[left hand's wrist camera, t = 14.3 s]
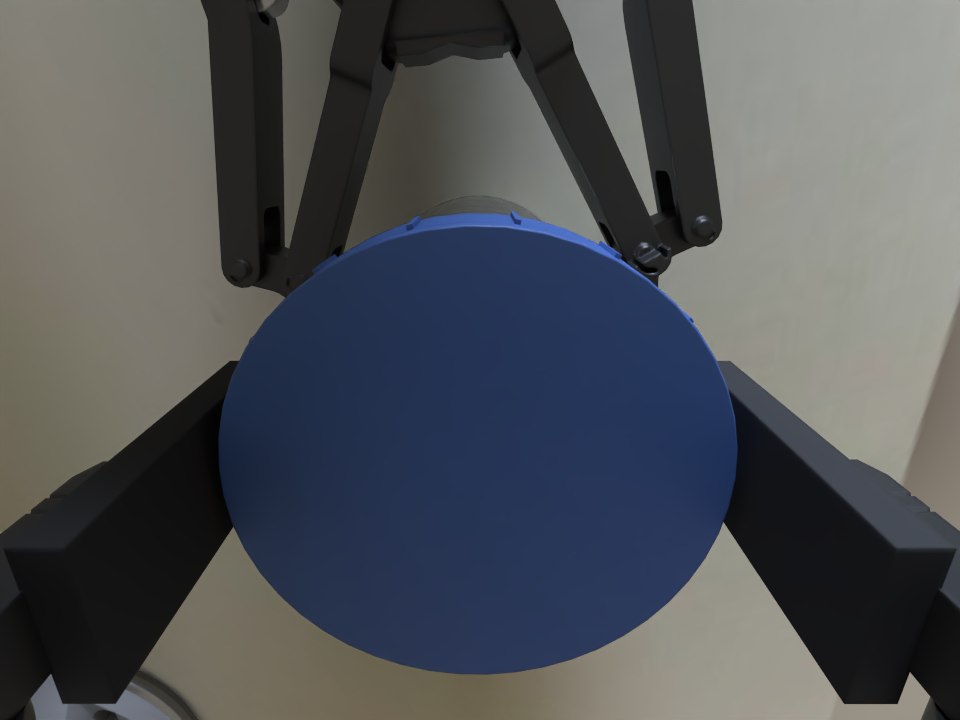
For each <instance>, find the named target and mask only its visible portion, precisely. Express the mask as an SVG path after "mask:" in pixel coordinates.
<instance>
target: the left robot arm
mask: <svg viewBox="0 0 960 720" xmlns="http://www.w3.org/2000/svg"><path fill="white" fill-rule="evenodd" d="M238 363H239V361H229V362H228V363H227V364H226V365H225V366H223V367H222V368H221V369H220V370H219V371H217V372H216V373H215V374H214V375H212V376H211V377H210V378H209V379H208V380H206V381H205V382H204V383H203V384H202V385H200V386H199V387H198V388H197V389H196V390H194V391H193V392H192V393H191V394H189V395H188V396H187V397H186V398H185V399H183V400H182V401H181V402H180V403H179V404H177V405H176V406H175V407H174V408H172V409H171V410H170V411H169V412H168V413H166V414H165V415H164V416H163V417H162V418H160V419H159V420H158V421H157V422H155V423H154V424H153V425H152V426H151V427H149V428H148V429H147V430H146V431H145V432H143V433H142V434H141V435H140V436H139V437H137V438H136V439H135V440H134V441H132V442H131V443H130V444H129V445H128V446H126V447H125V448H124V449H123V450H122V451H120V452H119V453H118V454H117V455H115V456H114V457H113V458H112V459H111V460H109V461H108V462H101V463H99V464H97V465H95V466H93V467H91V468H89V469H87V470H86V471H84V472H82V473H80V474H78V475H76V476H74V477H72V478H71V479H70V480H68V481H67V482H66V483H65V484H63V485H62V486H61V487H59V488H58V489H57V490H56V491H54V492H53V493H52V494H51V495H50V498H46V499H44V500H43V501H42V502H41V503H39V504H38V505H37V506H35V507H34V508H33V509H32V510H31V513H30V514H25V515H24V516H23V517H22V518H20V519H19V520H18V521H16V522H15V523H14V524H13V525H11V526H10V527H9V528H8V529H6V530H5V531H4V532H3V533H1V534H0V720H198V719H197V718H196V716H195V715H194V714H193V712H192V711H191V710H190V708H189V707H188V706H187V705H186V704H185V703H184V702H183V701H182V700H181V699H180V698H179V697H178V696H177V695H176V694H175V693H173V692H172V691H171V690H170V689H168V688H167V687H166V686H164V685H163V684H161V683H160V682H158V681H157V680H155V679H153V678H152V677H150V676H148V675H146V674H144V673H142V672H140V671H138V670H139V668H140V667H141V665H142V664H143V662H144V661H145V659H146V658H147V656H148V655H149V653H150V652H151V650H152V649H153V647H154V645H155V644H156V642H157V641H158V639H159V638H160V636H161V635H162V633H163V632H164V630H165V629H166V627H167V626H168V624H169V623H170V621H171V620H172V618H173V617H174V615H175V614H176V612H177V611H178V609H179V608H180V606H181V605H182V603H183V602H184V600H185V599H186V597H187V596H188V594H189V593H190V591H191V590H192V588H193V587H194V585H195V584H196V582H197V581H198V579H199V578H200V576H201V575H202V573H203V572H204V570H205V569H206V567H207V566H208V564H209V563H210V561H211V560H212V558H213V557H214V555H215V554H216V552H217V551H218V549H219V548H220V546H221V545H222V543H223V541H224V540H225V538H226V537H227V535H228V534H229V532H230V531H231V529H232V528H233V524H232V521H231V518H230V515H229V512H228V509H227V506H226V503H225V499H224V496H223V490H222V484H221V478H220V472H219V453H218V436H219V429H220V421H221V414H222V407H223V404H224V400H225V397H226V394H227V391H228V387H229V384H230V381H231V378H232V375H233V373H234V371H235V369H236V367H237V365H238ZM717 363H718V366H719V368H720V371H721V373H722V375H723V378H724V380H725V383H726V385H727V387H728V391H729V395H730V399H731V404H732V408H733V412H734V416H735V425H736V437H737V463H736V477H735V482H734V487H733V491H732V496H731V500H730V505H729V508H728V511H727V513H726V516H725V519H724V521H723V522H724V523H725V525H726V526H727V528H728V529H729V531H730V532H731V534H732V535H733V537H734V538H735V540H736V541H737V543H738V544H739V546H740V548H741V549H742V551H743V552H744V554H745V555H746V557H747V558H748V560H749V561H750V563H751V564H752V566H753V567H754V569H755V570H756V572H757V573H758V575H759V576H760V578H761V579H762V581H763V582H764V584H765V585H766V587H767V588H768V590H769V591H770V593H771V594H772V596H773V597H774V599H775V600H776V602H777V603H778V605H779V606H780V608H781V609H782V611H783V612H784V614H785V615H786V617H787V618H788V620H789V621H790V623H791V624H792V626H793V627H794V629H795V630H796V632H797V633H798V635H799V636H800V638H801V639H802V641H803V642H804V644H805V645H806V647H807V648H808V650H809V652H810V653H811V655H812V656H813V658H814V659H815V661H816V662H817V664H818V665H819V667H820V668H821V670H822V671H823V673H824V674H825V676H826V677H827V679H828V680H829V682H830V683H831V685H832V686H833V688H834V689H835V691H836V692H837V694H838V695H839V697H840V698H841V700H842V701H843V703H844V704H898V701H899V699H900V696H901V694H902V691H903V688H904V686H905V683H906V680H907V678H908V675H909V673H910V672H911V674H912V675H913V676H914V677H915V678H916V680H917V681H918V682H919V683H920V684H921V686H922V687H923V688H924V689H925V690H926V692H927V693H928V694H929V695H930V696H931V697H930V699H929V702H928V704H927V706H926V709H925V711H924V714H923V716H922V719H921V720H960V531H958V530H957V529H956V528H955V527H953V526H952V525H951V524H950V523H948V522H947V521H946V520H945V519H943V518H942V517H941V516H939V515H938V514H937V513H936V512H930V508H929V507H928V506H927V505H925V504H924V503H923V502H922V501H920V500H919V499H918V498H916V497H915V496H911V495H910V492H909V491H908V490H906V489H905V488H904V487H903V486H901V485H900V484H899V483H897V482H896V481H895V480H894V479H892V478H891V477H890V476H889V475H887V474H885V473H883V472H881V471H879V470H877V469H875V468H873V467H871V466H869V465H867V464H865V463H863V462H861V461H859V460H849V459H848V458H847V457H846V456H845V455H843V454H842V453H841V452H840V451H838V450H837V449H836V448H835V447H834V446H832V445H831V444H830V443H829V442H828V441H826V440H825V439H824V438H823V437H821V436H820V435H819V434H818V433H817V432H815V431H814V430H813V429H812V428H811V427H809V426H808V425H807V424H806V423H805V422H803V421H802V420H801V419H800V418H798V417H797V416H796V415H795V414H794V413H792V412H791V411H790V410H789V409H788V408H786V407H785V406H784V405H783V404H781V403H780V402H779V401H778V400H777V399H775V398H774V397H773V396H772V395H771V394H769V393H768V392H767V391H766V390H765V389H763V388H762V387H761V386H760V385H758V384H757V383H756V382H755V381H754V380H752V379H751V378H750V377H749V376H748V375H746V374H745V373H744V372H743V371H741V370H740V369H739V368H738V367H737V366H735V365H734V364H733V363H732V362H731V361H717Z"/></svg>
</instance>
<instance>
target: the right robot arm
mask: <svg viewBox="0 0 960 720" xmlns="http://www.w3.org/2000/svg"><path fill="white" fill-rule="evenodd" d="M334 1H335V3H336V4H337V5H338V6H339V7H340V9H341V14H340V18H339V22H338V26H337V31H336V35H335V39H334V43H333V47H332V52H331V57H330V82H329V86H328V90H327V94H326V99H325V103H324V107H323V111H322V115H321V119H320V124H319V128H318V132H317V136H316V140H315V144H314V149H313V153H312V157H311V161H310V165H309V169H308V174H307V178H306V182H305V186H304V190H303V194H302V198H301V203H300V207H299V211H298V215H297V219H296V223H295V228H294V232H293V236H292V240H291V244H290V248H286V247H285V231H284V163H283V96H282V53H281V41H280V35H279V29H278V25H277V21H276V17H278V16H280V15H282V14H283V13H284V12H285V10H286V8H287V6H288V2H289V0H201V2H202V5H203V8H204V11H205V13H206V16H207V19H208V32H209V50H210V67H211V85H212V103H213V121H214V139H215V156H216V174H217V192H218V210H219V228H220V246H221V263H222V270H223V274H224V276H225V277H226V279H227V280H228V281H229V282H230V283H231V284H233V285H234V286H237V287H241V288H245V287H250V286H256V287H260V288H263V289H267V290H271V291H275V292H277V293H279V294H281V295H283V296H284V297H285V298H286V297H287V296H288V295H289V294H290V293H291V292H293V291H294V290H295V289H296V288H298V287H299V286H300V285H302V284H303V283H304V282H305V281H307V280H308V279H309V278H311V277H312V276H313V275H314V273H313V272H312V269H314V268H315V267H317V266H318V265H319V264H321V263H322V262H324V261H325V260H327V259H328V258H330V257H331V256H333V255H334V254H335V255H336V256H337V257H339V256H340V255H342V254H343V252H344V248H345V244H346V241H347V237H348V233H349V230H350V226H351V223H352V219H353V215H354V212H355V208H356V204H357V201H358V197H359V194H360V190H361V186H362V183H363V179H364V175H365V172H366V168H367V164H368V161H369V157H370V154H371V150H372V146H373V143H374V139H375V135H376V132H377V128H378V125H379V121H380V117H381V114H382V110H383V106H384V103H385V101H386V98H387V97H388V95H389V93H390V90H391V87H392V84H393V80H394V77H395V73H396V70H397V66H398V63H402V64H403V65H404V66H405V67H413V66H423V65H430V64H432V63H435V62H437V61H440V60H442V59H444V58H447V57H449V56H452V55H456V56H461V57H466V58H471V59H476V60H483V59H493V58H502V57H503V53H505V52H508V51H510V53H511V55H512V57H513V60H514V62H515V64H516V66H517V68H518V70H519V72H520V73H521V75H522V77H523V79H524V81H525V82H526V83H527V85H528V86H529V88H530V89H531V91H532V93H533V95H534V97H535V99H536V101H537V103H538V105H539V107H540V109H541V112H542V114H543V116H544V118H545V120H546V122H547V124H548V126H549V128H550V130H551V132H552V134H553V136H554V138H555V140H556V142H557V144H558V146H559V148H560V150H561V152H562V154H563V156H564V158H565V160H566V162H567V164H568V166H569V168H570V170H571V172H572V174H573V176H574V178H575V180H576V182H577V184H578V186H579V188H580V190H581V192H582V194H583V196H584V198H585V200H586V202H587V204H588V206H589V208H590V210H591V212H592V214H593V216H594V218H595V220H596V222H597V225H598V227H599V229H600V231H601V233H602V235H603V237H604V239H605V241H606V243H607V245H608V246H609V247H611V248H612V249H614V250H615V251H617V252H618V253H619V254H621V255H622V256H621V258H620V259H621V260H622V261H624V262H625V263H627V264H628V265H629V266H631V267H632V268H633V269H635V270H636V271H638V272H639V273H640V274H642V275H643V276H644V277H646V278H647V279H649V280H650V281H651V282H652V283H653V284H654V285H655V286H657V287H658V277H659V275H660V274H662V273H663V272H664V271H665V270H666V269H667V268H668V266H669V265H670V263H671V258H672V256H674V255H676V254H678V253H680V252H683V251H685V250H687V249H689V248H692V247H694V246H697V247H702V246H707V245H709V244H711V243H713V242H714V241H715V240H716V239H717V238H718V237H719V234H720V232H721V230H722V217H721V209H720V202H719V195H718V187H717V180H716V173H715V165H714V158H713V150H712V143H711V136H710V128H709V121H708V114H707V106H706V99H705V91H704V84H703V77H702V69H701V62H700V55H699V47H698V40H697V32H696V25H695V18H694V10H693V3H692V0H623V14H624V22H625V29H626V35H627V40H628V46H629V52H630V57H631V63H632V69H633V74H634V80H635V86H636V92H637V97H638V103H639V109H640V114H641V120H642V126H643V131H644V137H645V143H646V149H647V154H648V160H649V166H650V171H651V177H652V183H653V188H654V194H655V200H656V205H657V211H658V213H656V214H654V215H652V216H649V214H648V211H647V209H646V207H645V205H644V203H643V201H642V198H641V196H640V194H639V192H638V190H637V188H636V185H635V183H634V181H633V179H632V177H631V174H630V172H629V170H628V168H627V166H626V164H625V161H624V159H623V157H622V155H621V153H620V151H619V148H618V146H617V144H616V142H615V140H614V138H613V135H612V133H611V131H610V129H609V127H608V124H607V122H606V120H605V118H604V116H603V114H602V111H601V109H600V107H599V105H598V103H597V101H596V98H595V96H594V94H593V92H592V90H591V87H590V85H589V83H588V81H587V79H586V77H585V74H584V72H583V70H582V68H581V66H580V64H579V61H578V59H577V57H576V54H575V51H574V47H573V41H572V38H571V35H570V32H569V30H568V27H567V25H566V23H565V21H564V19H563V17H562V14H561V12H560V10H559V8H558V6H557V3H556V1H555V0H334Z"/></svg>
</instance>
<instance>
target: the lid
mask: <svg viewBox="0 0 960 720" xmlns="http://www.w3.org/2000/svg"><path fill="white" fill-rule="evenodd" d="M621 256H622V255H621V254H619V253H618V252H617V251H615V250H614V249H612V248H611V247H609V246H608V245H606V244H605V243H603V242H602V241H600V243H599V244H596V243H595V242H592V241H590V240H588V239H586V238H584V237H582V236H579V235H577V234H575V233H573V232H571V231H569V230H567V229H564V228H560V227H557V226H554V225H551V224H547V223H544V222H541V221H538V220H534V219H528V218H522V217H519V215H518V214H517V212H514V211H511V214H510V215H504V214H478V213H465V214H456V215H447V216H438V217H432V218H428V219H424V220H421V218H420V216H416V217H414V218H413V219H412V220H411V221H410V222H409V223H408V224H404V225H400V226H398V227H395V228H393V229H390V230H388V231H385V232H383V233H381V234H378V235H376V236H373V237H371V238H369V239H367V240H366V241H364V242H362V243H360V244H359V245H357V246H355V247H353V248H352V249H350V250H348V251H346V252H345V253H343V254H342V255H340V256H339V257H337V256H336V255H335V254H334V255H333V256H331V257H330V258H328V259H327V260H325V261H324V262H322V263H321V264H319V265H318V266H317V267H315V268H314V269H312V272H313V273H314V275H313V276H312V277H311V278H309V279H308V280H307V281H305V282H304V283H303V284H302V285H300V286H299V287H298V288H296V289H295V290H294V291H293V292H291V293H290V294H289V295H288V296H287V297H286V298H285V299H284V300H283V301H282V302H281V303H280V305H279V306H278V307H277V308H276V309H275V310H274V311H273V312H272V313H271V314H270V315H269V316H268V317H267V318H266V319H265V321H264V322H263V324H262V325H261V326H260V328H259V329H258V331H257V332H256V334H255V335H254V336H253V337H252V338H251V339H250V341H249V344H248V345H247V347H246V348H245V350H244V353H243V355H242V357H241V359H240V361H239V363H238V365H237V367H236V369H235V371H234V373H233V375H232V378H231V381H230V384H229V387H228V391H227V394H226V397H225V400H224V404H223V407H222V414H221V421H220V429H219V436H218V453H219V472H220V478H221V484H222V490H223V496H224V499H225V503H226V506H227V509H228V512H229V515H230V518H231V521H232V524H233V526H234V528H235V530H236V532H237V534H238V537H239V539H240V541H241V543H242V545H243V547H244V549H245V551H246V552H247V554H248V555H249V557H250V558H251V560H252V561H253V563H254V564H255V566H256V567H257V569H258V570H259V572H260V573H261V574H262V576H263V577H264V578H265V579H266V580H267V581H268V583H269V584H270V585H271V586H272V587H273V588H274V589H275V591H276V592H277V593H278V594H279V595H280V596H281V597H282V598H283V599H284V600H285V601H286V602H288V603H289V604H290V605H291V606H292V607H293V608H294V609H295V610H296V611H297V612H299V613H300V614H301V615H302V616H304V617H305V618H306V619H308V620H309V621H311V622H312V623H313V624H315V625H316V626H318V627H319V628H320V629H322V630H323V631H325V632H327V633H328V634H330V635H332V636H334V637H335V638H337V639H339V640H341V641H342V642H344V643H346V644H348V645H350V646H352V647H355V648H357V649H359V650H361V651H364V652H366V653H368V654H371V655H373V656H376V657H379V658H382V659H385V660H388V661H391V662H394V663H398V664H401V665H405V666H410V667H414V668H419V669H424V670H428V671H436V672H445V673H454V674H499V673H512V672H520V671H525V670H531V669H536V668H542V667H546V666H550V665H553V664H557V663H561V662H564V661H568V660H571V659H574V658H576V657H579V656H582V655H584V654H587V653H589V652H592V651H594V650H597V649H599V648H601V647H603V646H605V645H607V644H609V643H611V642H613V641H614V640H616V639H618V638H620V637H622V636H624V635H626V634H627V633H629V632H630V631H632V630H633V629H635V628H636V627H638V626H639V625H641V624H642V623H644V622H645V621H647V620H648V619H649V618H650V617H652V616H653V615H654V614H655V613H656V612H658V611H659V610H660V609H661V608H662V607H663V606H665V605H666V604H667V603H668V602H669V601H670V600H671V599H672V598H673V597H674V596H675V595H676V594H677V593H678V592H679V591H680V590H681V589H682V588H683V586H684V585H685V584H686V583H687V582H688V581H689V580H690V578H691V577H692V576H693V574H694V573H695V572H696V570H697V569H698V567H699V566H700V565H701V563H702V562H703V561H704V559H705V558H706V556H707V554H708V552H709V550H710V549H711V547H712V545H713V543H714V541H715V539H716V538H717V536H718V534H719V532H720V529H721V526H722V524H723V521H724V519H725V516H726V513H727V511H728V508H729V505H730V500H731V496H732V491H733V487H734V482H735V477H736V463H737V437H736V425H735V416H734V412H733V408H732V404H731V399H730V395H729V391H728V387H727V385H726V383H725V380H724V378H723V375H722V373H721V371H720V368H719V366H718V363H717V361H716V359H715V357H714V355H713V353H712V352H711V350H710V349H709V347H708V345H707V344H706V342H705V340H704V339H703V337H702V335H701V334H700V332H699V331H698V329H697V328H696V327H695V326H694V324H693V322H694V321H693V319H692V318H691V317H690V316H688V315H687V314H686V313H684V312H683V311H682V310H681V309H680V308H679V307H678V305H677V304H676V303H675V302H674V301H672V300H671V299H670V298H669V297H668V296H667V295H666V294H665V293H663V292H662V291H661V290H660V289H659V288H658V287H657V286H655V285H654V284H653V283H652V282H651V281H650V280H649V279H647V278H646V277H644V276H643V275H642V274H640V273H639V272H638V271H636V270H635V269H633V268H632V267H631V266H629V265H628V264H627V263H625V262H624V261H622V260H621V259H620V258H621Z"/></svg>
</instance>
